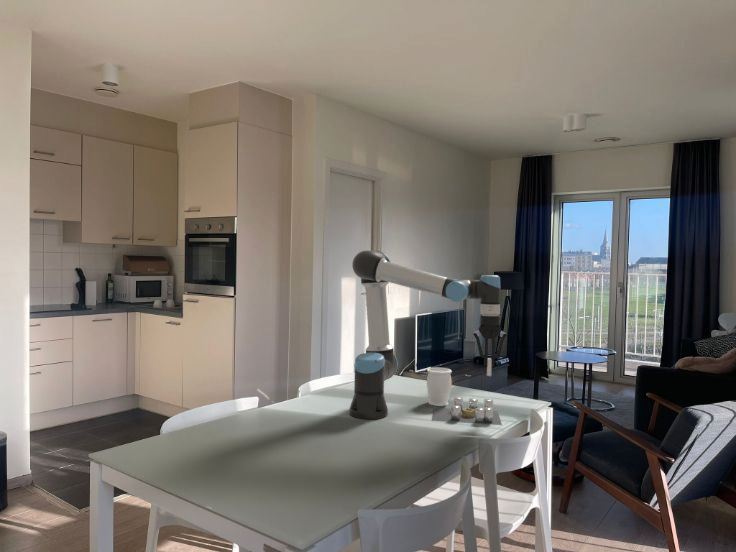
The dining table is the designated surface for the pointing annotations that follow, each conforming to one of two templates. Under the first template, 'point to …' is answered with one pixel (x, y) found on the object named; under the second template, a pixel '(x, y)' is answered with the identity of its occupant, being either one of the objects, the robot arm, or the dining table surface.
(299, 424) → the dining table surface
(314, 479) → the dining table surface
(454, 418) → the spacers
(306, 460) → the dining table surface
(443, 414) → the mat
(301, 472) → the dining table surface
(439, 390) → the jar
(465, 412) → the nut
